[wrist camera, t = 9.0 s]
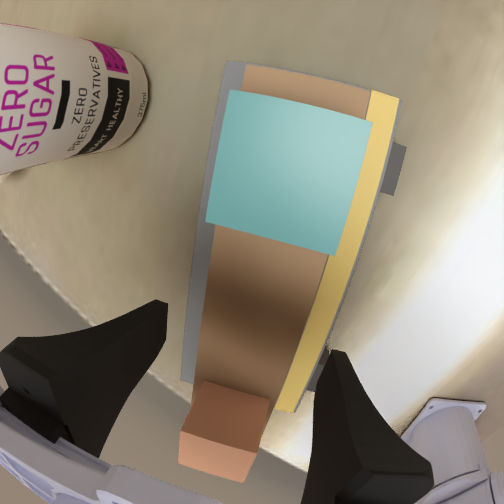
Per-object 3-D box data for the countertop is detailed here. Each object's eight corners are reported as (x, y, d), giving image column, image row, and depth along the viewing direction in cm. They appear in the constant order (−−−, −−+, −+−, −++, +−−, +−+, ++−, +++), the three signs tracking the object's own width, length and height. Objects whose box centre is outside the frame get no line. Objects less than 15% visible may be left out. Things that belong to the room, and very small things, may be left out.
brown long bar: (268, 398, 24) (257, 446, 19) (209, 381, 24) (188, 426, 20) (355, 102, 15) (370, 91, 11) (265, 82, 16) (246, 64, 11)
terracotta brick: (255, 434, 19) (242, 482, 15) (198, 417, 19) (178, 463, 16) (269, 399, 17) (257, 453, 14) (204, 380, 18) (180, 430, 14)
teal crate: (330, 219, 13) (335, 256, 9) (236, 195, 13) (205, 221, 10) (355, 125, 11) (372, 122, 8) (256, 101, 12) (229, 89, 8)
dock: (308, 390, 27) (306, 415, 24) (192, 358, 28) (179, 380, 25) (404, 109, 17) (418, 106, 14) (238, 69, 18) (225, 60, 16)
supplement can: (65, 74, 20) (-87, 76, 7) (145, 34, 18) (-23, -17, 5) (79, 161, 23) (-78, 211, 9) (162, 134, 21) (-25, 164, 7)
